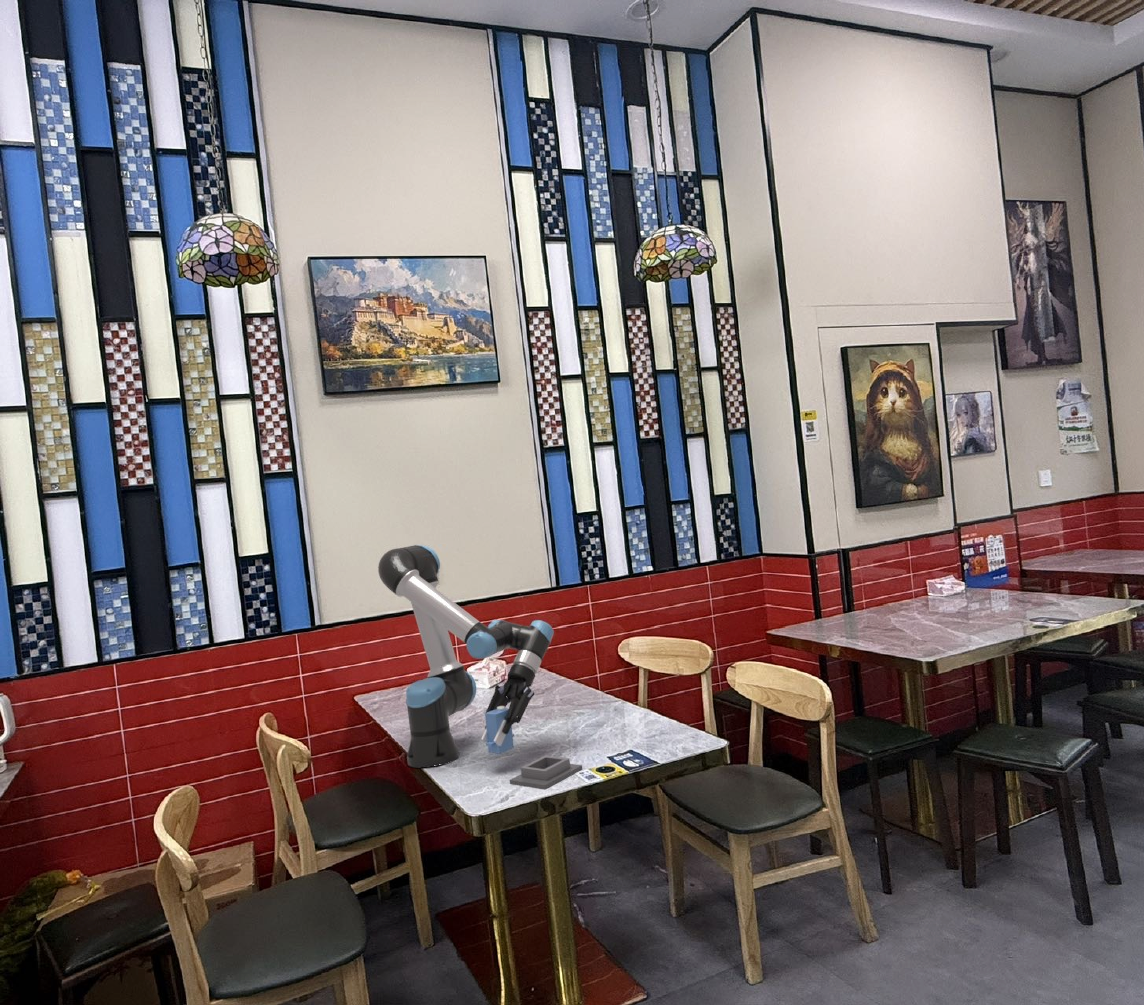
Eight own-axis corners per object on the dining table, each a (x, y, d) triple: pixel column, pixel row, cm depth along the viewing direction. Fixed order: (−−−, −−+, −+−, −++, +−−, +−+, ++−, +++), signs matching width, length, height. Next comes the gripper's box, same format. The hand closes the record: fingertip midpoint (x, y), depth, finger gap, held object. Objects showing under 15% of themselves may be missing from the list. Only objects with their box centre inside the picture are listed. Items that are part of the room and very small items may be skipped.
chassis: (545, 789, 211) (543, 775, 211) (510, 783, 219) (508, 770, 219) (582, 768, 224) (580, 755, 224) (548, 764, 231) (546, 751, 231)
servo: (494, 756, 227) (490, 713, 227) (484, 754, 230) (480, 712, 230) (517, 745, 235) (513, 704, 235) (507, 744, 237) (503, 703, 237)
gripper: (553, 678, 239) (521, 752, 226) (509, 674, 249) (476, 745, 236) (539, 664, 235) (506, 739, 222) (495, 661, 245) (461, 732, 232)
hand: (490, 742), depth 229 cm, fingers closed on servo, 4 cm apart
